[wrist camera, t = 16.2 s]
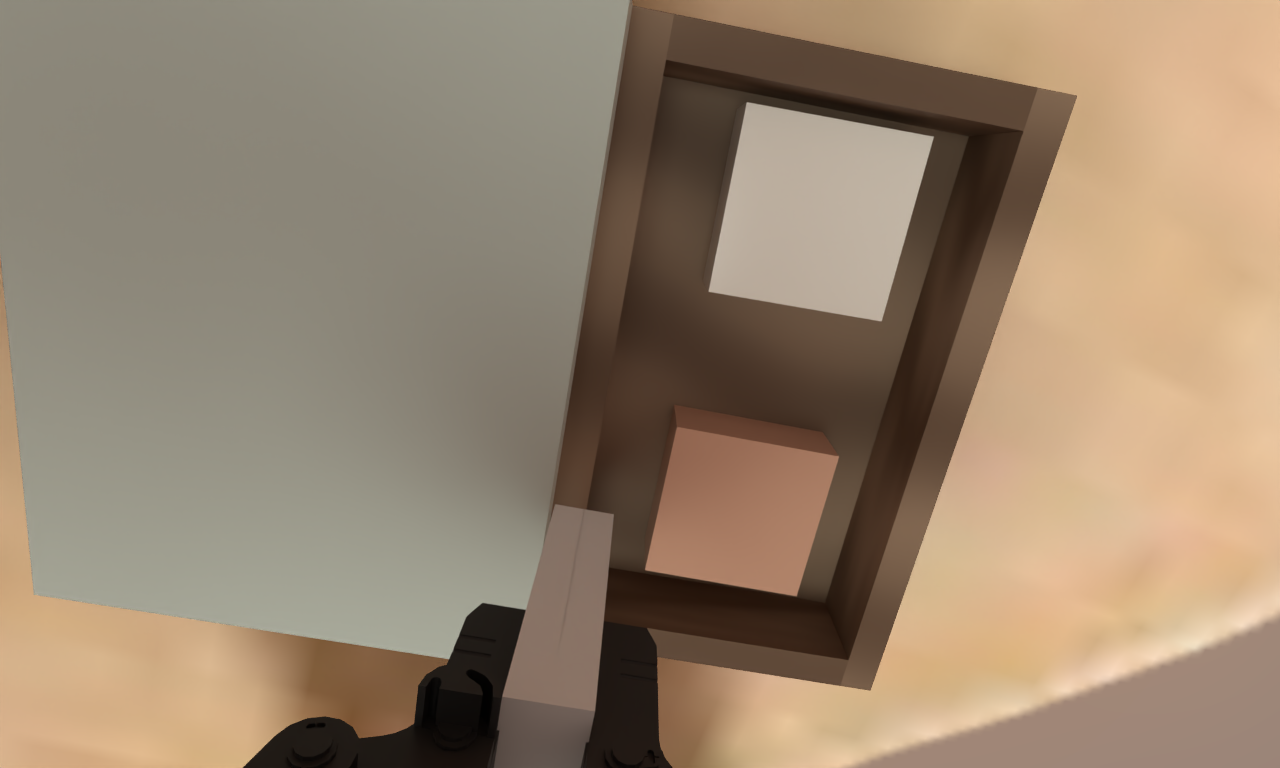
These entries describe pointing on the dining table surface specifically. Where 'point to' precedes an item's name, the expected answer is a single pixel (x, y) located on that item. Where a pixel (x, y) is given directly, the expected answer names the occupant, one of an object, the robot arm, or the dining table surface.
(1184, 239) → the dining table surface
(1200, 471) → the dining table surface
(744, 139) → the tile
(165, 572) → the board
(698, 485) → the tile
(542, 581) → the robot arm
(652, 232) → the tray
